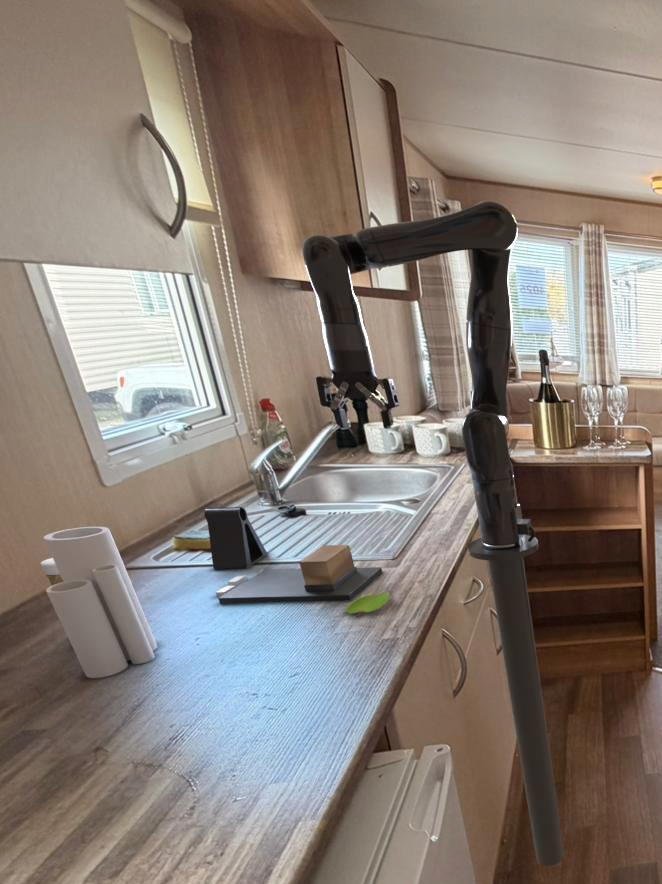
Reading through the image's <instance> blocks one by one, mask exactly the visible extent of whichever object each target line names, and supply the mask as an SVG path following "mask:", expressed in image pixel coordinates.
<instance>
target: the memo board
mask: <svg viewBox="0 0 662 884" xmlns="http://www.w3.org/2000/svg"><path fill="white" fill-rule="evenodd" d="M356 568H357V573H355V574H354V575H353V576H352V577H350V578H349V579H348V580H346V581H345V582H344V583H343V584H341V585H340V586H339V587H338V588H336V589H335V590H328V591H306V590H305V587H304V585H305V581H304V577H303V574H302V570H301V568H265V569H264V570H262V571H260V572H259V573H257V574H256V575H255V574H254V576H252V577H250V578H249V579H247V580H246V581H245V582H243V583H242V584H240V585H238V586H235V588H234V589H233V590H231V591H229V592H228V593H226V594H224V595H223V596H221V597H217V598H218V601H219V604H221V605H226V604H227V605H229V604H266V603H267V604H269V603H272V604H273V603H311V602H344V601H345V602H346V601H348V602H349V601H351V600H352V599H354V598H355V597H356V596H357V595H358V594H359V593H360V592H362V591H363V590H364V589H365V588H366V587H367V586H369V585H370V584H371V583H372V582H373V581H374V580H376V579H377V578H378V577H379V576H380V575H381V574H382V573H383V568H382V567H378V566H377V567H374V566H373V567H356Z"/></svg>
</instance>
